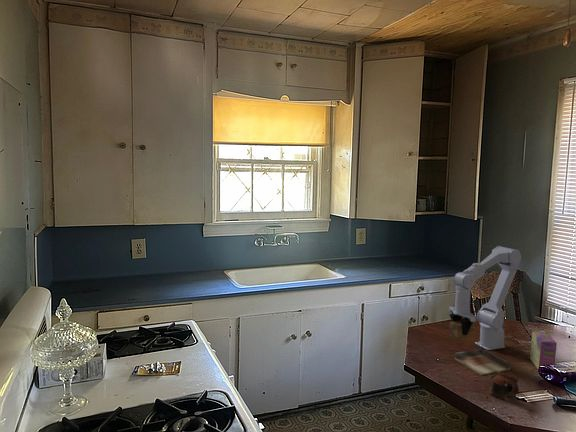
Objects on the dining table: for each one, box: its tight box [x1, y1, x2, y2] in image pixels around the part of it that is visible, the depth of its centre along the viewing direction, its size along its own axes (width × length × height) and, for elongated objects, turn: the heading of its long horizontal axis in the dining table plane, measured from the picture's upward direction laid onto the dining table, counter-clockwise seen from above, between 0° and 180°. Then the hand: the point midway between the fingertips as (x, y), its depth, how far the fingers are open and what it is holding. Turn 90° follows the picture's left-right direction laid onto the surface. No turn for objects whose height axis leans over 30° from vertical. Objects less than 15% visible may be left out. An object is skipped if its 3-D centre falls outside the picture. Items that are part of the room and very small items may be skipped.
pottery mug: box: [488, 372, 519, 400], centre depth 156 cm, size 12×10×8 cm
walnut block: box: [449, 321, 474, 340], centre depth 190 cm, size 4×8×6 cm, turn 109°
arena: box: [453, 347, 511, 376], centre depth 180 cm, size 14×15×3 cm
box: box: [529, 331, 558, 370], centre depth 178 cm, size 10×6×12 cm, turn 168°
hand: (461, 332), depth 191 cm, fingers closed on walnut block, 4 cm apart
